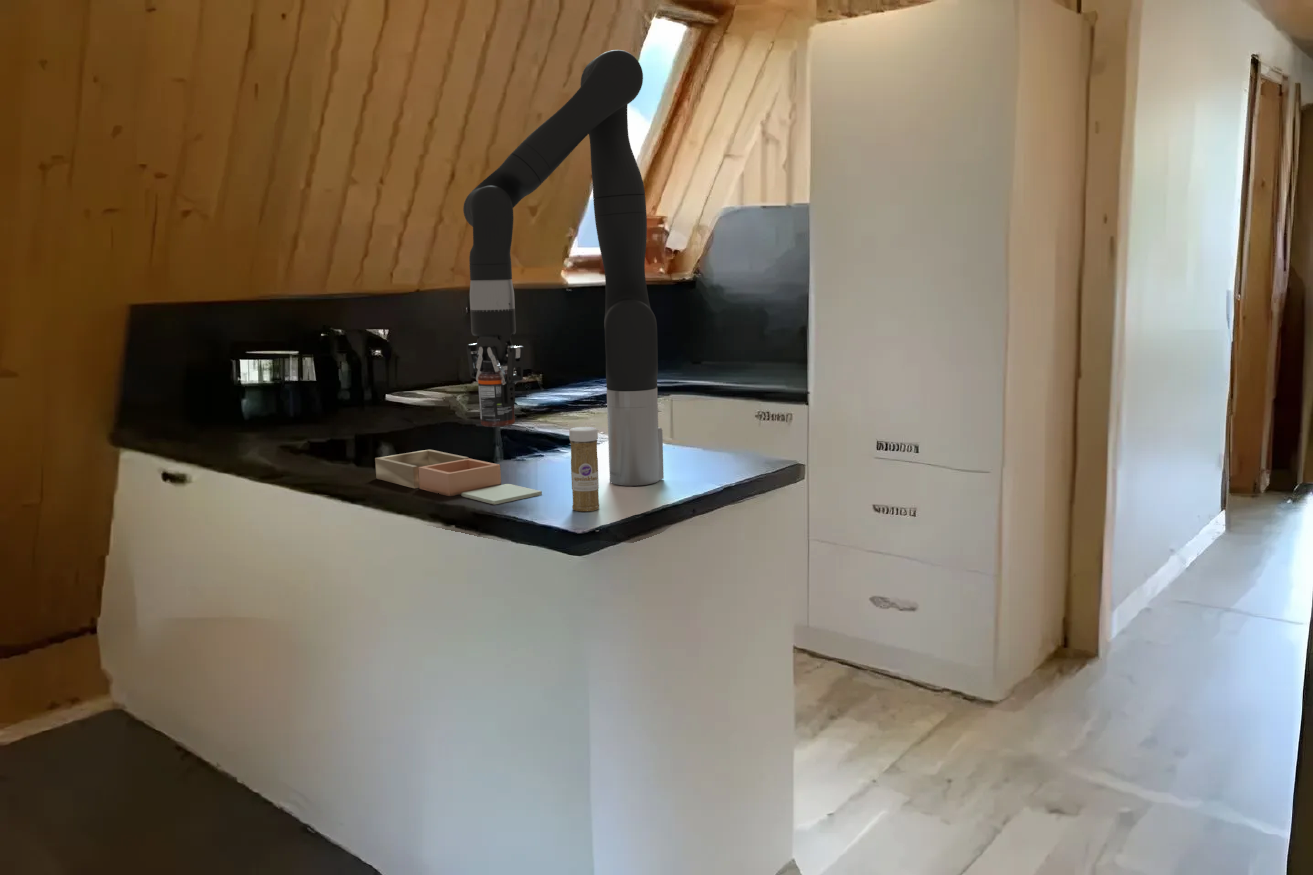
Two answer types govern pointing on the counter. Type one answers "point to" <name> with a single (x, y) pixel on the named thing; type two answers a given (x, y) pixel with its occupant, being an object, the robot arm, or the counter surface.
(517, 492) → the pad
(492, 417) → the supplement bottle
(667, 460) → the counter surface
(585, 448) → the sprinkles bottle
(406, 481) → the beige open box
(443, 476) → the pink open box
